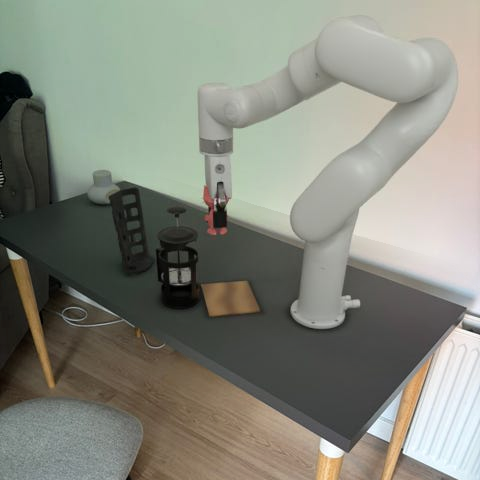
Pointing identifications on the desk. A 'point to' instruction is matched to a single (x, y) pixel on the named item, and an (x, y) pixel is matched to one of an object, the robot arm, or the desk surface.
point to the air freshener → (102, 187)
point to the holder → (124, 233)
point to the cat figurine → (209, 218)
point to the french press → (177, 264)
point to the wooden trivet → (229, 298)
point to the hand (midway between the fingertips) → (217, 220)
